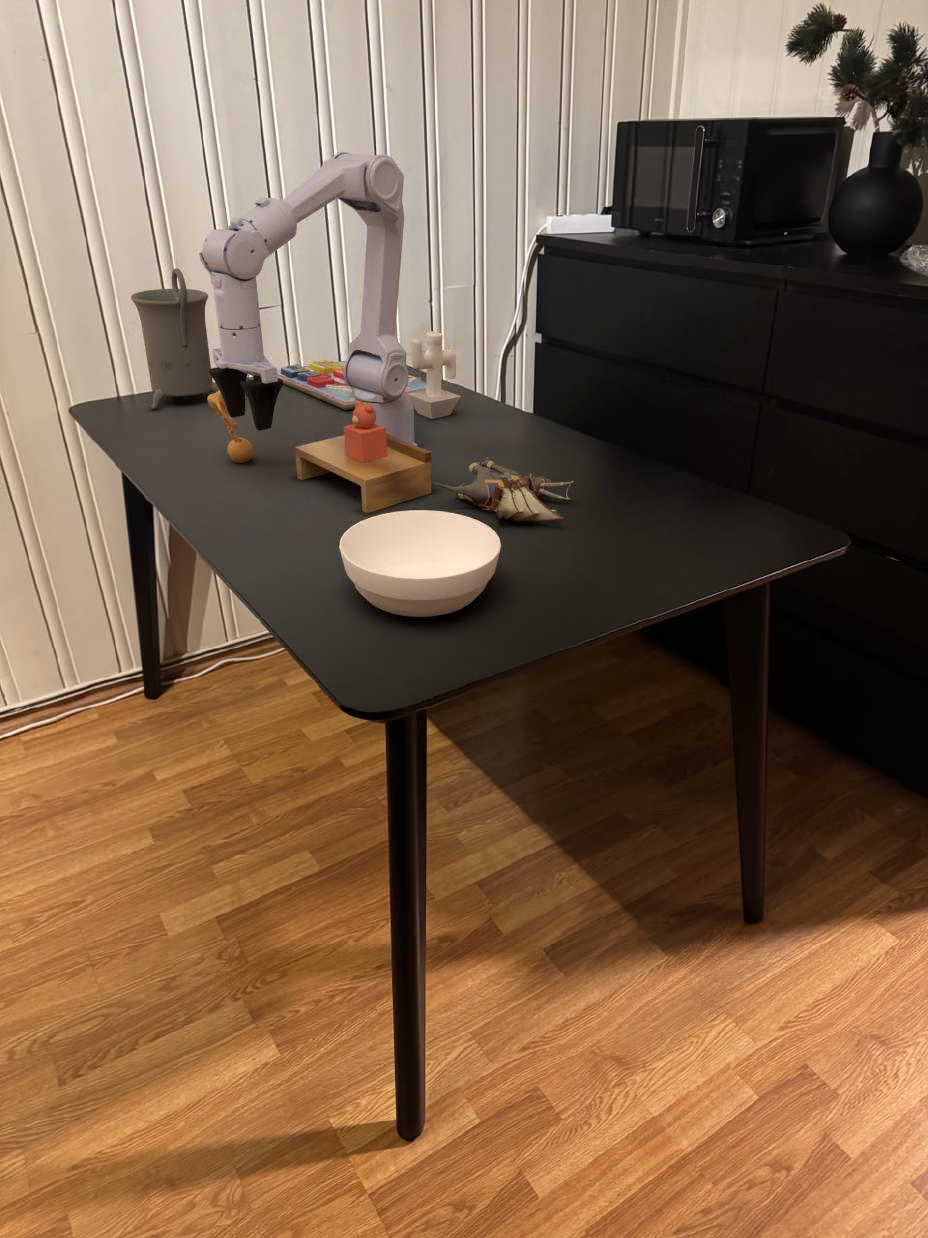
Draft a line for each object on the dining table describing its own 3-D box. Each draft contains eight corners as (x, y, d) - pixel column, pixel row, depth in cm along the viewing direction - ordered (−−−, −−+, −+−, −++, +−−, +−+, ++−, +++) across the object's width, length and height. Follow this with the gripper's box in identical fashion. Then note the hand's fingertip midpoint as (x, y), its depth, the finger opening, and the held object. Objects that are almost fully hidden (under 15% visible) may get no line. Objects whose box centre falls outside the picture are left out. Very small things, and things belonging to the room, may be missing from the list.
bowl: (428, 549, 113) (428, 498, 109) (531, 601, 101) (534, 545, 98) (311, 594, 102) (306, 538, 98) (411, 657, 91) (410, 596, 87)
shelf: (360, 461, 141) (358, 422, 138) (431, 493, 130) (431, 451, 127) (297, 478, 134) (294, 437, 131) (367, 513, 123) (365, 469, 120)
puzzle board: (441, 392, 177) (441, 379, 176) (345, 412, 164) (345, 398, 163) (359, 362, 197) (358, 350, 196) (268, 377, 184) (267, 365, 183)
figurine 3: (543, 449, 132) (608, 488, 119) (538, 487, 135) (601, 529, 122) (424, 460, 123) (480, 503, 110) (421, 500, 126) (476, 547, 113)
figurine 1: (259, 468, 137) (251, 393, 131) (221, 473, 135) (211, 397, 129) (248, 452, 144) (240, 379, 138) (211, 457, 142) (201, 383, 136)
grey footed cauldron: (134, 393, 172) (111, 258, 160) (208, 384, 179) (191, 254, 167) (160, 419, 159) (137, 273, 146) (238, 407, 165) (222, 268, 153)
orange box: (369, 448, 132) (367, 396, 128) (386, 456, 129) (385, 403, 125) (345, 455, 129) (342, 401, 125) (362, 463, 126) (360, 408, 122)
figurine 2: (465, 414, 164) (466, 332, 157) (425, 423, 159) (425, 339, 152) (441, 405, 169) (442, 325, 162) (402, 413, 164) (401, 332, 156)
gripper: (187, 320, 121) (201, 415, 128) (239, 338, 112) (251, 440, 119) (233, 313, 125) (244, 406, 132) (287, 331, 116) (295, 430, 123)
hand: (250, 422), depth 126 cm, fingers open, 7 cm apart
